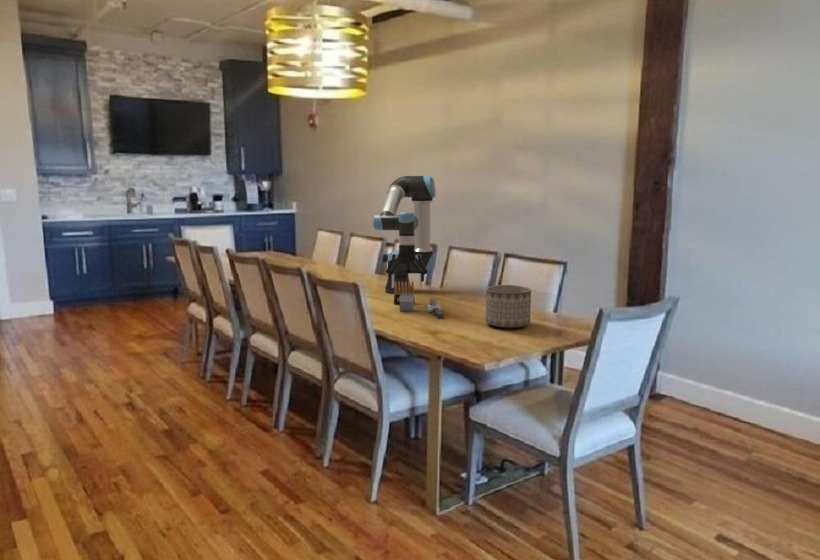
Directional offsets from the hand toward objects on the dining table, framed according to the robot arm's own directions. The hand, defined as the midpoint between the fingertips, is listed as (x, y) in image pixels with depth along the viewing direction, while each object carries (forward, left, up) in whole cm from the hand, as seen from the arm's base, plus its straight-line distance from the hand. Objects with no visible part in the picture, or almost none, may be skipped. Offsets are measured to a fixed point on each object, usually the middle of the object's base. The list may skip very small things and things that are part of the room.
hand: (406, 287), depth 300 cm
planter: (+23, +49, -11) cm, 55 cm away
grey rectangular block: (0, 0, -11) cm, 11 cm away
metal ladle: (+5, +15, -11) cm, 20 cm away
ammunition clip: (-15, -4, -12) cm, 20 cm away
